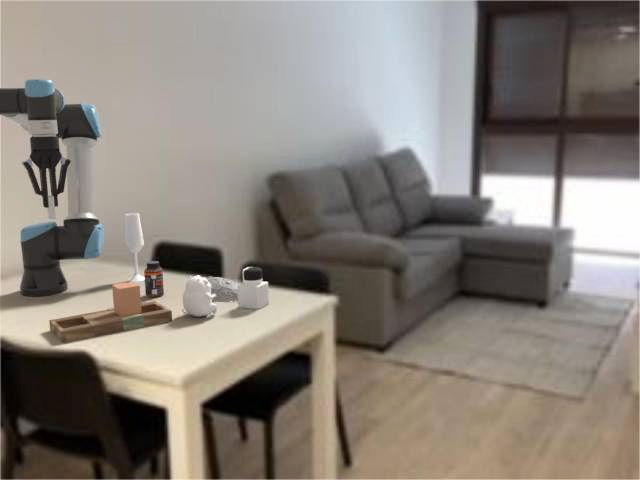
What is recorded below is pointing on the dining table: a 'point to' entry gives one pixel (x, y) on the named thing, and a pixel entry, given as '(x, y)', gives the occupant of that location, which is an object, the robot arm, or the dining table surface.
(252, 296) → the medicine bottle
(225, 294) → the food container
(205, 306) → the figurine
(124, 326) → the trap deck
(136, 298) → the block
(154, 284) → the supplement bottle
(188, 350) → the dining table surface
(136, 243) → the champagne flute
